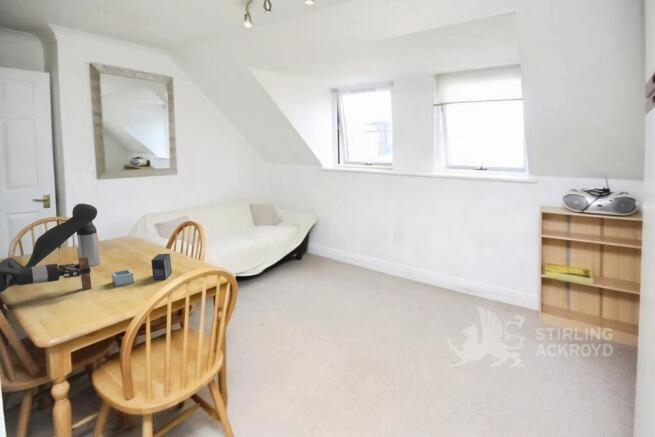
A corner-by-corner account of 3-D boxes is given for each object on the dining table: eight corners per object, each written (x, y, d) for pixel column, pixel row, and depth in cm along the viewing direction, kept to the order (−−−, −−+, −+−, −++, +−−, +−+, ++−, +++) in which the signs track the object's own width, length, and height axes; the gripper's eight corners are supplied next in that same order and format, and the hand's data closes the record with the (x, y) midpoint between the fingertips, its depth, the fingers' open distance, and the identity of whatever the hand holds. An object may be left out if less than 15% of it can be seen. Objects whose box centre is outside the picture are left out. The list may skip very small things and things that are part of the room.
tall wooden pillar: (83, 290, 182) (79, 258, 179) (82, 288, 184) (78, 256, 181) (91, 288, 184) (87, 257, 181) (90, 286, 186) (86, 255, 183)
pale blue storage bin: (116, 286, 186) (115, 276, 185) (112, 282, 192) (111, 272, 191) (133, 283, 191) (132, 273, 190) (129, 278, 197) (128, 269, 196)
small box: (159, 273, 205) (157, 253, 203) (172, 272, 206) (170, 253, 204) (152, 280, 195) (150, 259, 193) (166, 280, 196) (164, 259, 194)
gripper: (43, 278, 178) (85, 272, 189) (48, 286, 167) (92, 279, 178) (42, 261, 177) (84, 256, 188) (46, 269, 166) (91, 263, 177)
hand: (88, 268), depth 183 cm, fingers open, 8 cm apart
